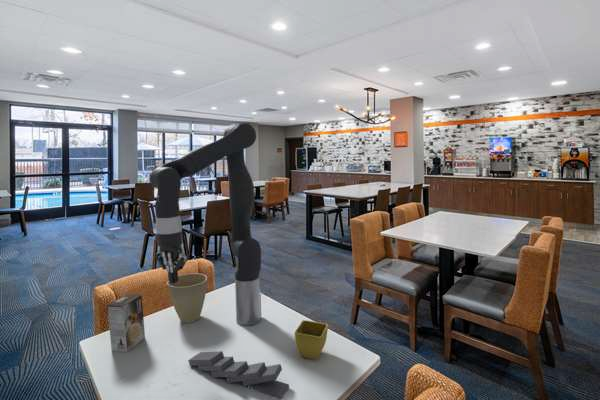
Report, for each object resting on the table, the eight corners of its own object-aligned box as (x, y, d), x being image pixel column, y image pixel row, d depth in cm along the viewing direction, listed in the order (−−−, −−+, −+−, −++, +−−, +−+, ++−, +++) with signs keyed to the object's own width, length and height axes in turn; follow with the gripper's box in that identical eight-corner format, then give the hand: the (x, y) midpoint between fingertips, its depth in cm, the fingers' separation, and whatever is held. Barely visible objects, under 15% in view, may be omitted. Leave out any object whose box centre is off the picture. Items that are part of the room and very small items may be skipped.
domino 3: (222, 362, 101) (246, 361, 96) (224, 367, 101) (248, 366, 96) (210, 371, 97) (235, 370, 92) (212, 377, 96) (236, 376, 91)
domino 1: (200, 352, 106) (222, 351, 101) (202, 356, 106) (223, 356, 101) (188, 360, 102) (210, 359, 97) (189, 365, 102) (211, 365, 97)
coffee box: (129, 336, 120) (126, 293, 118) (145, 337, 118) (142, 294, 116) (110, 350, 111) (106, 304, 109) (127, 352, 109) (123, 305, 107)
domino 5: (249, 370, 97) (280, 363, 94) (251, 375, 97) (282, 369, 94) (242, 380, 92) (274, 373, 89) (244, 385, 92) (276, 379, 89)
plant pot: (193, 306, 143) (191, 270, 141) (216, 316, 134) (215, 277, 132) (161, 320, 131) (159, 281, 129) (184, 331, 122) (182, 290, 120)
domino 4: (235, 367, 98) (264, 362, 95) (237, 372, 98) (266, 367, 95) (226, 377, 94) (256, 372, 90) (228, 383, 94) (258, 377, 90)
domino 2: (210, 357, 104) (232, 356, 99) (211, 362, 104) (234, 361, 98) (197, 365, 100) (220, 365, 94) (199, 370, 100) (222, 371, 94)
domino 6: (257, 374, 96) (288, 384, 92) (258, 379, 96) (289, 389, 92) (248, 385, 91) (280, 396, 87) (248, 390, 92) (280, 401, 87)
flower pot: (328, 349, 110) (328, 323, 109) (321, 365, 102) (321, 337, 101) (303, 344, 113) (303, 319, 112) (294, 359, 105) (294, 332, 103)
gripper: (193, 229, 106) (197, 281, 109) (163, 226, 112) (168, 276, 115) (175, 234, 100) (179, 290, 102) (144, 231, 106) (149, 283, 108)
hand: (173, 282), depth 108 cm, fingers closed
